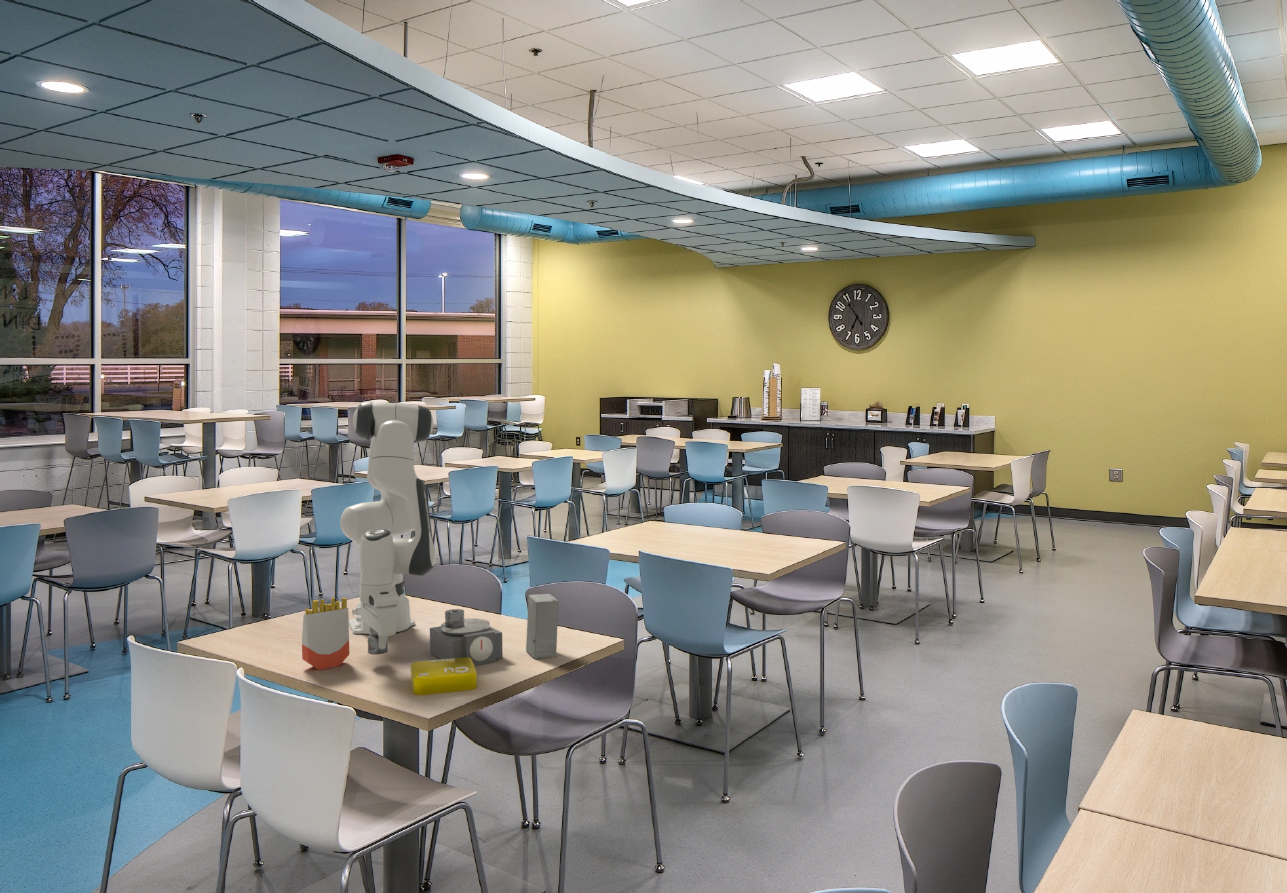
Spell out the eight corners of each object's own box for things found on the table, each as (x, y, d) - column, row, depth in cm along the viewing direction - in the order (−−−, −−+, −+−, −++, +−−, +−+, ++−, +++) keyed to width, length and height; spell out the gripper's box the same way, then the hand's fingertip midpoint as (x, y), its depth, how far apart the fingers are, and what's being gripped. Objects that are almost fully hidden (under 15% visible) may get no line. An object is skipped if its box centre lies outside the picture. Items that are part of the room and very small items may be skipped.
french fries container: (302, 668, 231) (300, 599, 230) (343, 660, 238) (341, 593, 237) (308, 672, 228) (306, 602, 227) (349, 663, 235) (348, 596, 234)
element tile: (471, 672, 228) (471, 654, 227) (478, 691, 213) (477, 671, 213) (410, 678, 223) (410, 659, 223) (413, 697, 209) (413, 677, 209)
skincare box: (525, 651, 245) (524, 594, 244) (550, 648, 248) (549, 592, 247) (534, 660, 237) (533, 601, 236) (559, 656, 240) (559, 598, 239)
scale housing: (430, 653, 244) (429, 624, 243) (477, 644, 252) (477, 616, 251) (456, 669, 229) (456, 638, 228) (506, 660, 237) (505, 630, 236)
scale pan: (433, 627, 242) (433, 623, 242) (477, 620, 250) (477, 616, 250) (452, 637, 232) (452, 633, 232) (498, 630, 239) (497, 625, 239)
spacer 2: (442, 625, 240) (442, 610, 240) (459, 622, 243) (459, 607, 242) (449, 629, 236) (449, 614, 235) (467, 626, 238) (467, 611, 238)
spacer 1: (365, 650, 233) (365, 635, 233) (384, 647, 236) (384, 632, 236) (371, 655, 229) (371, 640, 229) (390, 652, 232) (390, 637, 232)
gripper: (354, 586, 238) (354, 636, 239) (376, 602, 221) (377, 657, 222) (377, 583, 242) (378, 633, 243) (401, 599, 225) (402, 653, 226)
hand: (378, 645), depth 232 cm, fingers closed on spacer 1, 5 cm apart
